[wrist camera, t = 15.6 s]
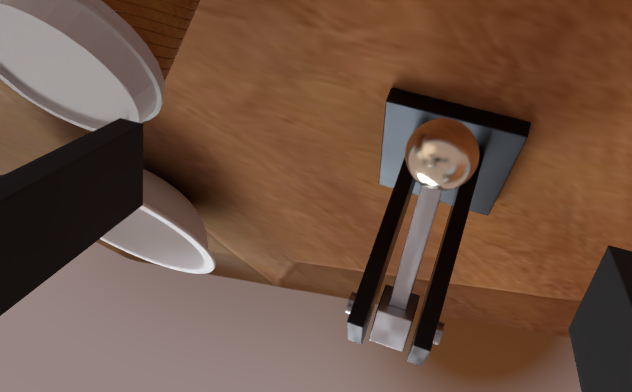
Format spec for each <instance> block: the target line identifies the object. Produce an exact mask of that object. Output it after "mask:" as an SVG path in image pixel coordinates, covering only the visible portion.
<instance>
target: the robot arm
mask: <svg viewBox="0 0 632 392" xmlns="http://www.w3.org/2000/svg"><path fill="white" fill-rule="evenodd" d="M142 205H143V124H141V123H138V122H134V121H130V120H126V119H122V118H119V119H117V120H115V121H113V122H111V123H109V124H107V125H105V126H103V127H101V128H99V129H97V130H95V131H93V132H91V133H89V134H87V135H85V136H83V137H80V138H78V139H76V140H74V141H72V142H70V143H68V144H66V145H64V146H62V147H60V148H58V149H56V150H54V151H52V152H50V153H48V154H46V155H44V156H42V157H40V158H38V159H36V160H34V161H32V162H30V163H28V164H26V165H24V166H22V167H19V168H17V169H15V170H13V171H11V172H9V173H7V174H4V175H0V316H1V315H2V314H3V313H4V312H6V311H7V310H8V309H10V308H11V307H12V306H14V305H15V304H16V303H17V302H19V301H20V300H21V299H22V298H24V297H25V296H26V295H28V294H29V293H30V292H32V291H33V290H34V289H35V288H37V287H38V286H39V285H40V284H42V283H43V282H44V281H46V280H47V279H48V278H50V277H51V276H52V275H53V274H55V273H56V272H57V271H58V270H60V269H61V268H62V267H64V266H65V265H66V264H68V263H69V262H70V261H71V260H73V259H74V258H75V257H77V256H78V255H79V254H80V253H82V252H83V251H84V250H85V249H87V248H88V247H89V246H91V245H92V244H93V243H95V242H96V241H97V240H98V239H100V238H101V237H102V236H104V235H105V234H106V233H107V232H109V231H110V230H111V229H113V228H114V227H115V226H117V225H118V224H119V223H120V222H122V221H123V220H124V219H126V218H127V217H128V216H129V215H131V214H132V213H133V212H135V211H136V210H137V209H138V208H140V207H141V206H142ZM569 333H570V338H571V343H572V347H573V352H574V357H575V362H576V367H577V372H578V376H579V381H580V386H581V391H582V392H632V251H628V250H624V249H620V248H616V247H612V246H609V245H608V247H607V249H606V252H605V254H604V256H603V258H602V260H601V262H600V264H599V266H598V268H597V270H596V272H595V275H594V277H593V279H592V281H591V283H590V285H589V287H588V289H587V291H586V293H585V295H584V297H583V300H582V302H581V304H580V306H579V308H578V310H577V312H576V314H575V316H574V318H573V320H572V323H571V325H570V327H569Z"/></svg>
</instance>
